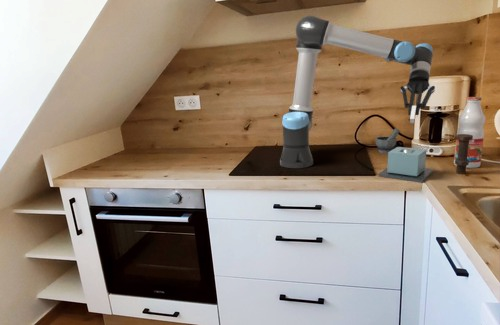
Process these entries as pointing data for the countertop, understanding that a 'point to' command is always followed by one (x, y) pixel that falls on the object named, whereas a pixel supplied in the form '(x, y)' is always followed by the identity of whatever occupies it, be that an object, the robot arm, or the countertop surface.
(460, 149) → the bolt
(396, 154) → the sleeve
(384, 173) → the pipe stand
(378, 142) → the mortar and pestle
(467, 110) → the fruit juice
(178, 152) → the countertop surface
